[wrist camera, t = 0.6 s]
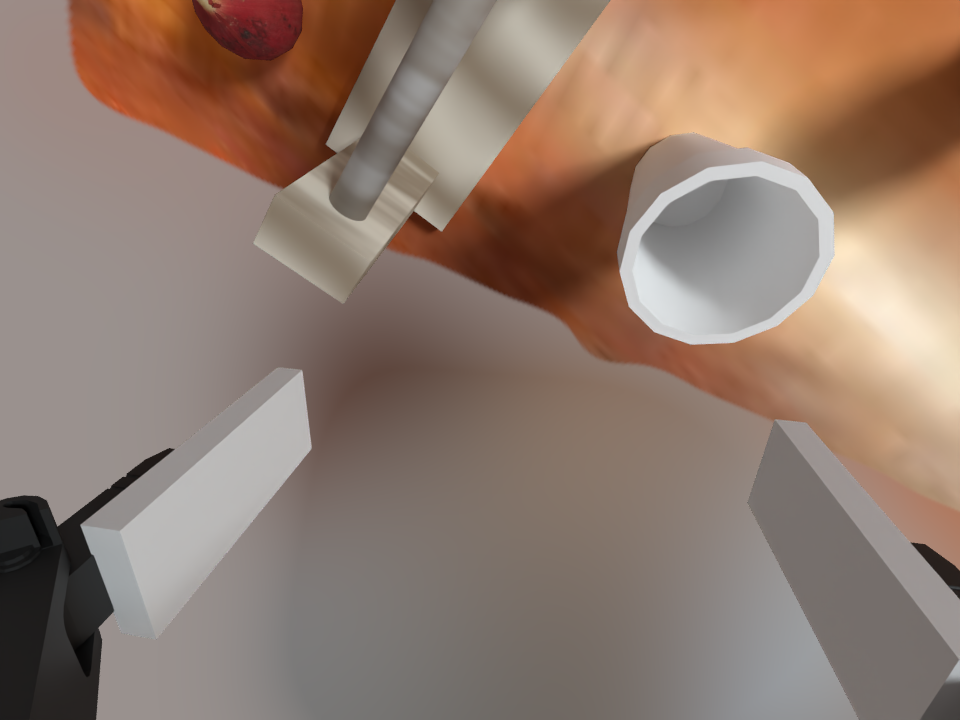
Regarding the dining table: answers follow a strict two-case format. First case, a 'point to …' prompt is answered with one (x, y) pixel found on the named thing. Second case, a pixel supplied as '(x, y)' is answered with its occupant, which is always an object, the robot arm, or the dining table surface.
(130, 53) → the dining table surface
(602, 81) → the dining table surface
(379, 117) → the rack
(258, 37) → the onion
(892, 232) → the dining table surface
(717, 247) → the foam cup
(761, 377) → the dining table surface
